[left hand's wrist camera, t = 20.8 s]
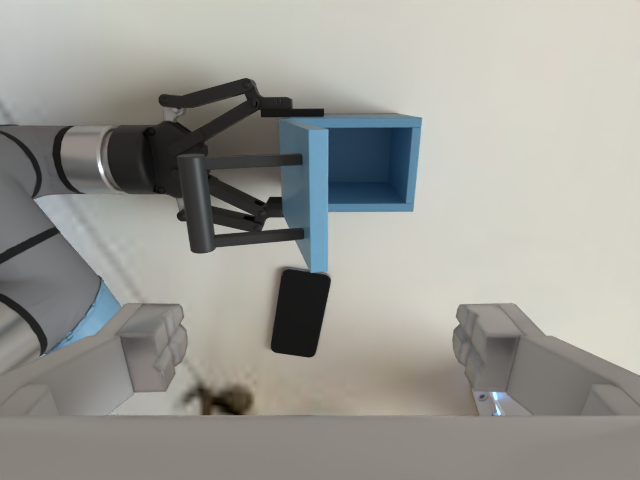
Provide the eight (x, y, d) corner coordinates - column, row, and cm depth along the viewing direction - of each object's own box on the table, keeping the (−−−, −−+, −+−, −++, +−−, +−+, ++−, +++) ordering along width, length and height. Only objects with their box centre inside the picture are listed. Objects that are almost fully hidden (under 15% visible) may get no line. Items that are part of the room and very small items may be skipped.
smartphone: (332, 275, 51) (314, 358, 56) (332, 273, 52) (314, 355, 57) (282, 267, 51) (269, 352, 56) (283, 265, 51) (270, 349, 57)
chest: (398, 113, 44) (422, 117, 33) (393, 187, 47) (413, 211, 37) (293, 114, 44) (285, 118, 33) (296, 187, 47) (289, 212, 37)
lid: (328, 129, 21) (166, 132, 19) (327, 271, 24) (190, 286, 22) (291, 118, 33) (191, 120, 31) (294, 213, 36) (204, 220, 34)
